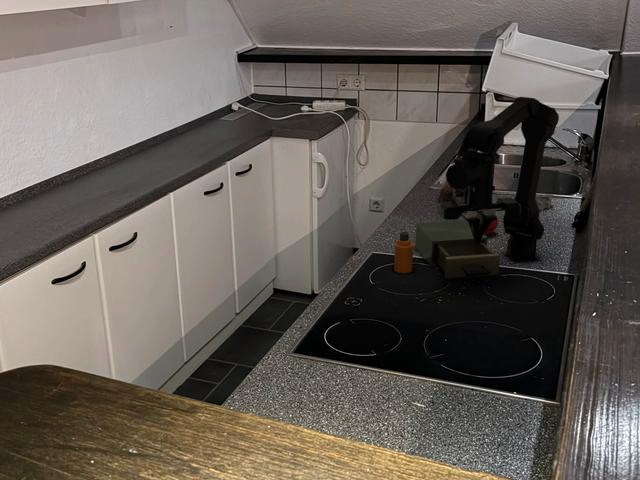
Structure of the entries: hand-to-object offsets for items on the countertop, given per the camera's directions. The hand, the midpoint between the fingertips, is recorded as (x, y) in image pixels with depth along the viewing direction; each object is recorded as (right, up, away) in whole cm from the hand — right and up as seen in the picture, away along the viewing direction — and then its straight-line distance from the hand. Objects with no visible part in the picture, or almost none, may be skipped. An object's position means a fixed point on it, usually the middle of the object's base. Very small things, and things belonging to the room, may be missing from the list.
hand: (476, 242), depth 184 cm
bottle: (-16, -7, +12) cm, 21 cm away
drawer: (0, -7, +9) cm, 11 cm away
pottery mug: (+9, +14, +64) cm, 66 cm away
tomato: (+10, +3, +35) cm, 37 cm away
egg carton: (+33, +12, +58) cm, 68 cm away
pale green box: (-2, -3, +21) cm, 21 cm away
